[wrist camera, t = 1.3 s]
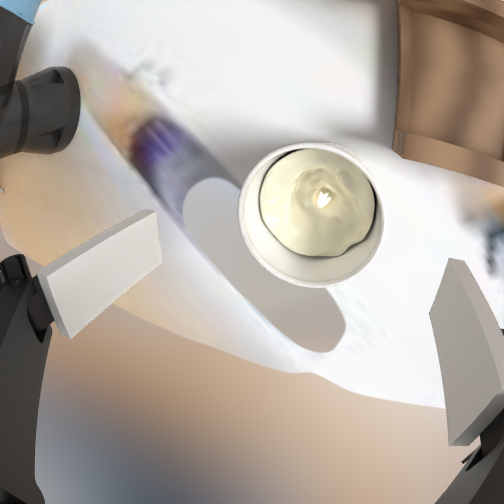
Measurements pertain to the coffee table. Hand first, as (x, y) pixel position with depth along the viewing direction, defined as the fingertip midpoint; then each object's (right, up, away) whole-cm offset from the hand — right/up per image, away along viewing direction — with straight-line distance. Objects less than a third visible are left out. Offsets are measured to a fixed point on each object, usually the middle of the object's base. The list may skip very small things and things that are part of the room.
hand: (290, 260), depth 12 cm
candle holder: (+6, +7, +17) cm, 19 cm away
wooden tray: (+19, +16, +7) cm, 26 cm away
